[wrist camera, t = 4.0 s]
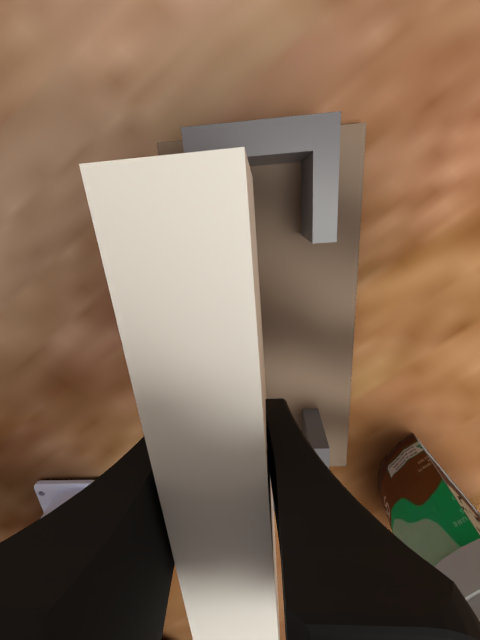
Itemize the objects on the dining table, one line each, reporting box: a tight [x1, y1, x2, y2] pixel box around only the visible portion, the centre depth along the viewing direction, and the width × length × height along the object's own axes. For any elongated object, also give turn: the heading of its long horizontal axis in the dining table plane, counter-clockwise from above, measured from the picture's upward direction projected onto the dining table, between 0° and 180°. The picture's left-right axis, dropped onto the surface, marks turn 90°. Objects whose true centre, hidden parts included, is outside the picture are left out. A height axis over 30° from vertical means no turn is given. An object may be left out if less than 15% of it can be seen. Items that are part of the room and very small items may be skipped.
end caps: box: [181, 111, 341, 511], centre depth 17 cm, size 20×6×4 cm, turn 4°
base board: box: [157, 123, 366, 466], centre depth 19 cm, size 21×10×1 cm, turn 4°
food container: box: [378, 434, 480, 621], centre depth 19 cm, size 12×6×10 cm, turn 41°
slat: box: [79, 147, 280, 640], centre depth 10 cm, size 16×2×6 cm, turn 5°
